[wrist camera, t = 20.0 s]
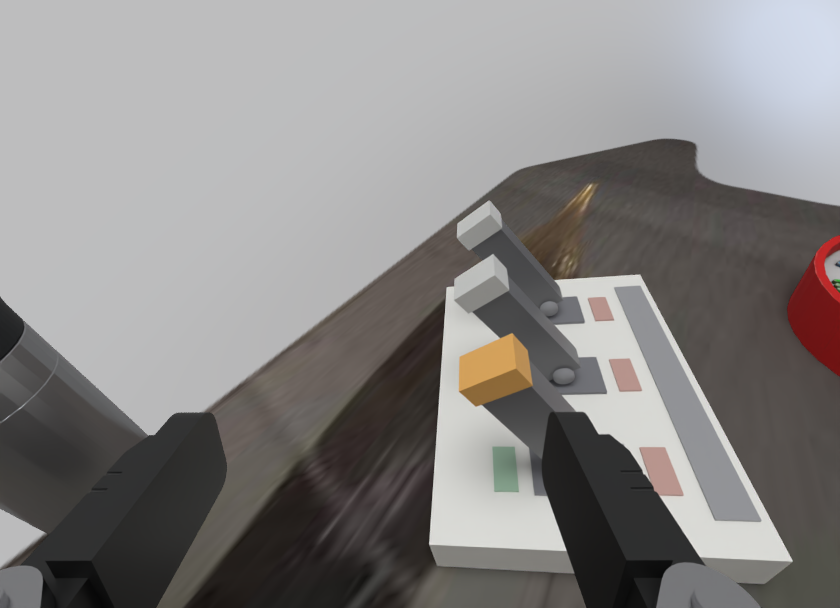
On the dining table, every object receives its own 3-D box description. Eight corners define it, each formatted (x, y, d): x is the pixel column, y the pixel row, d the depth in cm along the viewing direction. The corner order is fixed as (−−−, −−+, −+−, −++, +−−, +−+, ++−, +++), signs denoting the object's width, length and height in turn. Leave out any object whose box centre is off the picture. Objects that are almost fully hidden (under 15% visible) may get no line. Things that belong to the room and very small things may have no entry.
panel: (437, 566, 28) (428, 542, 25) (450, 313, 47) (446, 285, 44) (764, 584, 24) (795, 559, 22) (632, 304, 44) (640, 272, 41)
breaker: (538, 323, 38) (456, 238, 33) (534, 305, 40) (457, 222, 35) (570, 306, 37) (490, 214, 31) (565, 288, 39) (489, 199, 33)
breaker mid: (550, 390, 32) (453, 301, 27) (545, 366, 34) (454, 278, 29) (589, 374, 31) (494, 275, 25) (582, 349, 33) (493, 253, 27)
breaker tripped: (566, 488, 26) (458, 392, 21) (559, 452, 28) (459, 355, 23) (618, 477, 25) (516, 369, 19) (607, 439, 27) (512, 331, 21)
